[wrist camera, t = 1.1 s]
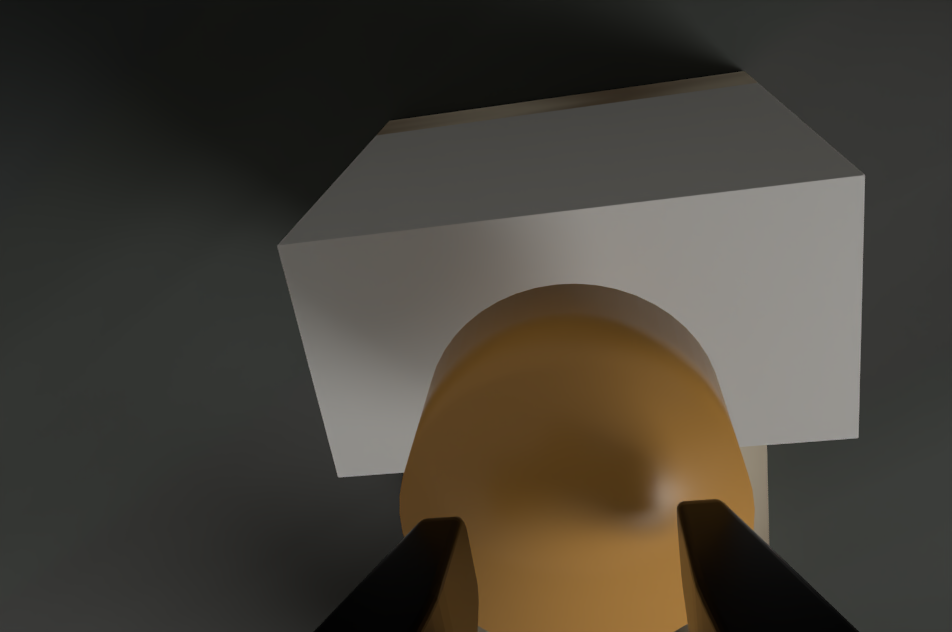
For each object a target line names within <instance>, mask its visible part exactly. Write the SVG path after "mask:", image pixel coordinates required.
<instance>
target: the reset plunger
mask: <svg viewBox="0 0 952 632" xmlns="http://www.w3.org/2000/svg"><path fill="white" fill-rule="evenodd" d="M706 499H718V500H721V501H723V502H724V503H725V504H726V505H727V506H728V507H729V508H730V509H731V510H732V511H733V512H734V513H735V514H737V515H738V516H739V517H740V518H741V519H742V520H743V521H744V522H745V523H746V524H747V525H748V526H749V527H750V528H751V529H752V530H754V515H755V507H754V498H753V489H752V486H751V483H750V479H749V476H748V472H747V469H746V466H745V463H744V460H743V456H742V453H741V450H740V447H739V444H738V441H737V438H736V435H735V432H734V429H733V425H732V422H731V419H730V416H729V413H728V410H727V407H726V404H725V401H724V398H723V394H722V391H721V388H720V385H719V382H718V379H717V376H716V373H715V371H714V368H713V366H712V364H711V362H710V360H709V358H708V356H707V354H706V353H705V351H704V350H703V348H702V347H701V345H700V344H699V342H698V341H697V340H696V339H695V337H694V336H693V335H692V334H691V333H690V332H689V331H688V330H687V328H686V327H685V326H683V325H682V324H681V323H680V322H679V321H678V320H676V319H675V318H674V317H673V316H672V315H670V314H669V313H667V312H666V311H664V310H663V309H661V308H659V307H658V306H656V305H655V304H653V303H651V302H649V301H647V300H645V299H642V298H640V297H638V296H636V295H633V294H630V293H627V292H624V291H621V290H618V289H614V288H609V287H603V286H598V285H588V284H556V285H549V286H544V287H538V288H533V289H530V290H526V291H523V292H520V293H516V294H514V295H512V296H509V297H507V298H505V299H503V300H500V301H498V302H496V303H495V304H493V305H491V306H490V307H488V308H486V309H485V310H483V311H481V312H480V313H479V314H478V315H476V316H475V317H474V318H473V319H471V320H470V321H469V322H468V323H467V324H466V325H465V326H464V327H463V328H462V329H461V330H460V331H459V332H458V333H457V334H456V335H455V336H454V338H453V339H452V340H451V342H450V343H449V345H448V346H447V347H446V349H445V350H444V352H443V354H442V356H441V358H440V360H439V362H438V364H437V366H436V369H435V372H434V375H433V378H432V381H431V384H430V387H429V391H428V394H427V397H426V401H425V404H424V407H423V411H422V414H421V417H420V421H419V424H418V427H417V431H416V434H415V437H414V441H413V444H412V447H411V451H410V454H409V457H408V461H407V464H406V468H405V471H404V474H403V478H402V484H401V490H400V519H401V526H402V532H403V535H404V537H405V536H406V535H407V534H408V533H409V532H410V531H411V530H412V529H413V528H414V527H415V526H416V525H417V524H418V523H419V522H420V521H421V520H423V519H427V518H439V517H454V516H457V517H460V518H461V519H462V520H463V521H464V523H465V525H466V528H467V533H468V538H469V543H470V548H471V553H472V558H473V563H474V568H475V573H476V578H477V585H478V596H479V610H478V626H479V627H481V628H483V629H485V630H486V631H488V632H674V631H676V630H678V629H679V628H681V627H683V626H685V625H686V624H688V622H687V615H686V608H685V601H684V594H683V586H682V577H681V565H680V553H679V540H678V527H677V506H678V504H679V503H680V502H682V501H692V500H706Z"/></svg>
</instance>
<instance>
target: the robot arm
mask: <svg viewBox="0 0 952 632" xmlns="http://www.w3.org/2000/svg"><path fill="white" fill-rule="evenodd" d="M677 527H678V540H679V553H680V565H681V577H682V586H683V594H684V601H685V608H686V615H687V622H688V629H689V632H859V631H858V630H857V629H856V628H855V627H854V626H852V625H851V624H850V623H849V622H848V621H847V620H846V619H845V618H844V617H843V616H842V615H841V614H840V613H839V612H838V611H837V610H836V609H835V608H834V607H833V606H832V605H831V604H829V603H828V602H827V601H826V600H825V599H824V598H823V597H822V596H821V595H820V594H819V593H818V592H817V591H816V590H815V589H814V588H813V587H812V586H811V585H810V584H809V583H808V582H807V581H805V580H804V579H803V578H802V577H801V576H800V575H799V574H798V573H797V572H796V571H795V570H794V569H793V568H792V567H791V566H790V565H789V564H788V563H787V562H786V561H785V560H784V559H782V558H781V557H780V556H779V555H778V554H777V553H776V552H775V551H774V550H773V549H772V548H771V547H770V546H769V545H768V544H767V543H766V542H765V541H764V540H763V539H762V538H761V537H760V536H758V535H757V534H756V533H755V532H754V531H753V530H752V529H751V528H750V527H749V526H748V525H747V524H746V523H745V522H744V521H743V520H742V519H741V518H740V517H739V516H738V515H737V514H735V513H734V512H733V511H732V510H731V509H730V508H729V507H728V506H727V505H726V504H725V503H724V502H723V501H721V500H718V499H706V500H692V501H682V502H680V503H679V504H678V506H677ZM478 610H479V596H478V585H477V578H476V573H475V568H474V563H473V558H472V553H471V548H470V543H469V538H468V533H467V528H466V525H465V523H464V521H463V520H462V519H461V518H460V517H457V516H454V517H439V518H427V519H423V520H421V521H420V522H419V523H418V524H417V525H416V526H415V527H414V528H413V529H412V530H411V531H410V532H409V533H408V534H407V535H406V536H405V537H404V538H403V539H402V540H401V541H400V542H399V543H398V544H397V545H396V546H395V548H394V549H393V550H392V551H391V552H390V553H389V554H388V555H387V556H386V557H385V558H384V559H383V560H382V561H381V562H380V563H379V564H378V565H377V566H376V567H375V568H374V569H373V570H372V572H371V573H370V574H369V575H368V576H367V577H366V578H365V579H364V580H363V581H362V582H361V583H360V584H359V585H358V586H357V587H356V588H355V589H354V590H353V591H352V592H351V593H350V594H349V595H348V597H347V598H346V599H345V600H344V601H343V602H342V603H341V604H340V605H339V606H338V607H337V608H336V609H335V610H334V611H333V612H332V613H331V614H330V615H329V616H328V617H327V618H326V619H325V620H324V622H323V623H322V624H321V625H320V626H319V627H318V628H317V629H316V630H315V631H314V632H478Z"/></svg>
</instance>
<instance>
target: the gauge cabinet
mask: <svg viewBox="0 0 952 632" xmlns="http://www.w3.org/2000/svg"><path fill="white" fill-rule="evenodd" d="M864 194H865V175H864V174H863V173H862V172H861V171H860V170H859V169H857V168H856V167H855V166H854V165H853V164H852V163H850V162H849V161H848V160H847V159H846V158H845V157H843V156H842V155H841V154H840V153H839V152H838V151H836V150H835V149H834V148H833V147H832V146H831V145H830V144H828V143H827V142H826V141H825V140H824V139H823V138H821V137H820V136H819V135H818V134H817V133H816V132H814V131H813V130H812V129H811V128H810V127H809V126H807V125H806V124H805V123H804V122H803V121H802V120H800V119H799V118H798V117H797V116H796V115H795V114H793V113H792V112H791V111H790V110H789V109H788V108H787V107H785V106H784V105H783V104H782V103H781V102H780V101H778V100H777V99H776V98H775V97H774V96H773V95H771V94H770V93H769V92H768V91H767V90H766V89H764V88H763V87H762V86H761V85H760V84H759V83H752V84H745V85H738V86H731V87H723V88H716V89H709V90H702V91H694V92H687V93H680V94H673V95H665V96H658V97H651V98H644V99H636V100H629V101H622V102H615V103H608V104H600V105H593V106H586V107H579V108H571V109H564V110H557V111H550V112H542V113H535V114H528V115H521V116H513V117H506V118H499V119H492V120H484V121H477V122H470V123H463V124H455V125H448V126H441V127H434V128H426V129H419V130H412V131H405V132H397V133H390V134H383V135H376V136H375V137H374V138H373V140H372V141H371V142H370V143H369V144H368V145H367V146H366V147H365V148H364V150H363V151H362V152H361V153H360V154H359V155H358V156H357V157H356V158H355V160H354V161H353V162H352V163H351V164H350V165H349V166H348V167H347V168H346V170H345V171H344V172H343V173H342V174H341V175H340V176H339V177H338V178H337V180H336V181H335V182H334V183H333V184H332V185H331V186H330V187H329V188H328V190H327V191H326V192H325V193H324V194H323V195H322V196H321V197H320V198H319V200H318V201H317V202H316V203H315V204H314V205H313V206H312V207H311V208H310V210H309V211H308V212H307V213H306V214H305V215H304V216H303V217H302V218H301V220H300V221H299V222H298V223H297V224H296V225H295V226H294V227H293V228H292V230H291V231H290V232H289V233H288V234H287V235H286V236H285V237H284V238H283V240H282V241H281V242H280V243H279V244H278V245H277V247H278V251H279V255H280V258H281V262H282V266H283V270H284V274H285V277H286V281H287V285H288V289H289V293H290V296H291V300H292V304H293V308H294V312H295V315H296V319H297V323H298V327H299V331H300V334H301V338H302V342H303V346H304V350H305V353H306V357H307V361H308V365H309V368H310V372H311V376H312V380H313V384H314V387H315V391H316V395H317V399H318V403H319V406H320V410H321V414H322V418H323V422H324V425H325V429H326V433H327V437H328V441H329V444H330V448H331V452H332V456H333V460H334V463H335V467H336V471H337V475H338V477H351V476H364V475H377V474H390V473H404V471H405V468H406V464H407V461H408V457H409V454H410V451H411V447H412V444H413V441H414V437H415V434H416V431H417V427H418V424H419V421H420V417H421V414H422V411H423V407H424V404H425V401H426V397H427V394H428V391H429V387H430V384H431V381H432V378H433V375H434V372H435V369H436V366H437V364H438V362H439V360H440V358H441V356H442V354H443V352H444V350H445V349H446V347H447V346H448V345H449V343H450V342H451V340H452V339H453V338H454V336H455V335H456V334H457V333H458V332H459V331H460V330H461V329H462V328H463V327H464V326H465V325H466V324H467V323H468V322H469V321H470V320H471V319H473V318H474V317H475V316H476V315H478V314H479V313H480V312H481V311H483V310H485V309H486V308H488V307H490V306H491V305H493V304H495V303H496V302H498V301H500V300H503V299H505V298H507V297H509V296H512V295H514V294H516V293H520V292H523V291H526V290H530V289H533V288H538V287H544V286H549V285H556V284H588V285H598V286H603V287H609V288H614V289H618V290H621V291H624V292H627V293H630V294H633V295H636V296H638V297H640V298H642V299H645V300H647V301H649V302H651V303H653V304H655V305H656V306H658V307H659V308H661V309H663V310H664V311H666V312H667V313H669V314H670V315H672V316H673V317H674V318H675V319H676V320H678V321H679V322H680V323H681V324H682V325H683V326H685V327H686V328H687V330H688V331H689V332H690V333H691V334H692V335H693V336H694V337H695V339H696V340H697V341H698V342H699V344H700V345H701V347H702V348H703V350H704V351H705V353H706V354H707V356H708V358H709V360H710V362H711V364H712V366H713V368H714V371H715V373H716V376H717V379H718V382H719V385H720V388H721V391H722V394H723V398H724V401H725V404H726V407H727V410H728V413H729V416H730V419H731V422H732V425H733V429H734V432H735V435H736V438H737V441H738V444H739V447H747V446H760V445H773V444H786V443H799V442H813V441H826V440H839V439H852V438H858V433H859V394H860V354H861V314H862V274H863V234H864Z"/></svg>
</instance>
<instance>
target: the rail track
mask: <svg viewBox="0 0 952 632" xmlns="http://www.w3.org/2000/svg"><path fill="white" fill-rule="evenodd" d="M752 83H757V82H756V81H755V80H754V79H753V78H752V77H751V76H749V75H748V74H747V73H746V72H745V71H741V72H734V73H727V74H720V75H713V76H705V77H698V78H691V79H684V80H677V81H670V82H663V83H656V84H648V85H641V86H634V87H627V88H620V89H613V90H606V91H599V92H591V93H584V94H577V95H570V96H563V97H556V98H549V99H542V100H534V101H527V102H520V103H513V104H506V105H499V106H492V107H485V108H477V109H470V110H463V111H456V112H449V113H442V114H435V115H428V116H420V117H413V118H406V119H399V120H392V121H389V122H388V123H387V124H386V125H385V126H384V127H383V128H382V130H381V131H380V132H379V133H378V134H377V135H383V134H390V133H397V132H405V131H412V130H419V129H426V128H434V127H441V126H448V125H455V124H463V123H470V122H477V121H484V120H492V119H499V118H506V117H513V116H521V115H528V114H535V113H542V112H550V111H557V110H564V109H571V108H579V107H586V106H593V105H600V104H608V103H615V102H622V101H629V100H636V99H644V98H651V97H658V96H665V95H673V94H680V93H687V92H694V91H702V90H709V89H716V88H723V87H731V86H738V85H745V84H752ZM740 450H741V453H742V456H743V460H744V463H745V466H746V469H747V472H748V476H749V479H750V483H751V486H752V489H753V498H754V507H755V515H754V530H753V531H754V532H755V533H756V534H757V535H758V536H760V537H761V538H762V539H763V540H764V541H765V542H766V543H767V544H768V545H769V515H768V474H767V445H760V446H747V447H740ZM478 632H488V631H486V630H485V629H483V628H481V627H479V626H478ZM674 632H689V629H688V624H686V625H685V626H683V627H681V628H679V629H678V630H676V631H674Z"/></svg>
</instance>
